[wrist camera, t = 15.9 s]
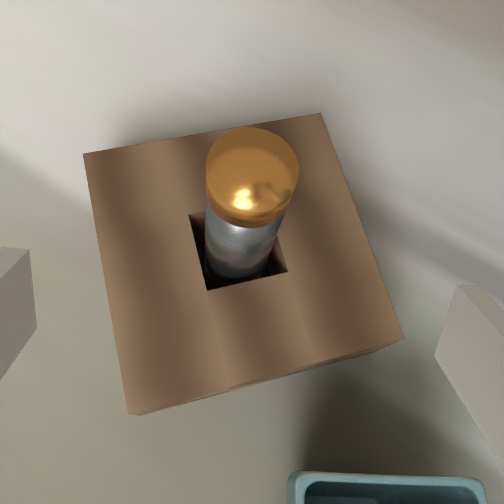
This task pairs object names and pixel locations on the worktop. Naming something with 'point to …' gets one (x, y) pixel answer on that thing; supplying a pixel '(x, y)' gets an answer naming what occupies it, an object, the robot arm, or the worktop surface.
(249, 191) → the metal pin
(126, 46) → the worktop surface
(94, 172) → the block
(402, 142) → the worktop surface
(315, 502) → the flower pot
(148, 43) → the worktop surface
